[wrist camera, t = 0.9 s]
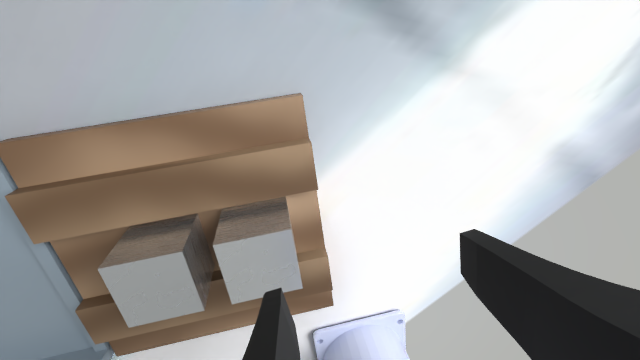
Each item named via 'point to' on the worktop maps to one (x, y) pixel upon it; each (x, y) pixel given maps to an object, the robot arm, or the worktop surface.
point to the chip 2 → (257, 249)
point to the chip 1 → (159, 270)
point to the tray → (37, 296)
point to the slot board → (169, 202)
